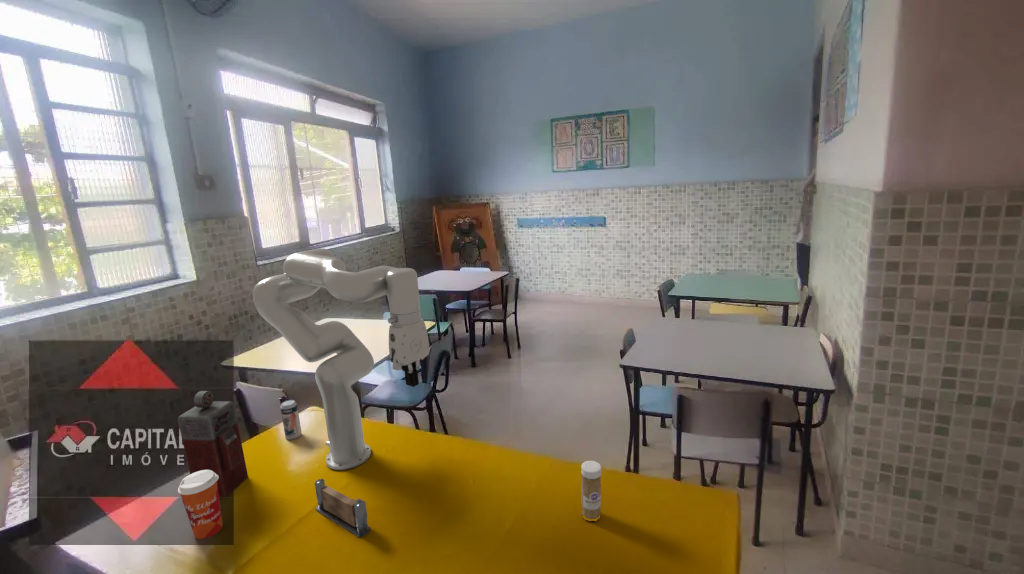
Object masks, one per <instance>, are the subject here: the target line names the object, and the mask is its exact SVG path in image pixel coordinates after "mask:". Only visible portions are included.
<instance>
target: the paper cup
mask: <svg viewBox="0 0 1024 574" xmlns="http://www.w3.org/2000/svg"><path fill="white" fill-rule="evenodd" d="M218 478H219V476H218V475H217V474H216V473H215V472H213V471H212V470H201V471H197V472H195V473H192V474H190V473H189V475H187V476H185V477H184V478H183V479H182V480H181V481H180V484H179V486H178V489H177V492H178V494H180V497H181V500H182V503H183V506H184V509H185V512H186V515H187V518H188V521H189V524H190V527H191V530H192V532H193V535H194V537H195V538H196V539H197V540H206V539H209V538H211V537H213V536H215V535H216V534H219V532H220V531H221V530H222V528H223V516H222V509H221V501H220V498H219V493H218V486H217V480H218Z"/></svg>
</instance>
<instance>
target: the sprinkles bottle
mask: <svg viewBox="0 0 1024 574" xmlns="http://www.w3.org/2000/svg"><path fill="white" fill-rule="evenodd" d="M580 470H581V471H580V472H581V510H582V511H581V515H582V514H583V515H584V516H585V517H586V518H588V519H596V518H598V517H599V516H600V513H601V506H602V501H601V500H602V492H601V491H602V490H601V489H602V486H601V485H602V483H601V481H602V480H601V478H602V477H601V476H602V465H601V464H600V463H599V462H598V461H595V460H585V461H584V462H582V463H581V469H580Z"/></svg>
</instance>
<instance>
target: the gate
mask: <svg viewBox="0 0 1024 574" xmlns="http://www.w3.org/2000/svg"><path fill="white" fill-rule="evenodd" d="M321 494H322V500H323V507H324V509H325V510H327V511H329V512H330V513H332V514H334V515H335V516H337V517H339V518H340V519H342V520H344V521H345V522H347V523H349V524H350V525H352V526H353V527H356V526H357V524H356V516H355V509H354V504H355V503H356V502H358V501H356V500H357V499H354V498H353V499H352V498H350V497H348V496H347V495H345V494H343V493H341V492H339V491H337V490H336V489H334V488H332V487H331V486H329V485H325V487H324V488H322V489H321Z"/></svg>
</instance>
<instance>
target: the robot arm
mask: <svg viewBox="0 0 1024 574" xmlns="http://www.w3.org/2000/svg"><path fill="white" fill-rule="evenodd" d="M282 271H283V273H282V274H277V275H273V276H269V277H267V278H266V277H265V278H264V279H262V280H260V281H259V282H257V283H256V284H255V286H254V288H253V291H252V300H253V305H254V307H255V308H256V310H257V312H258V314H259V315H260V316H261V317H262V319H264V320H265V321H266V322H267V323H268V324H269V325H270V326H272V327H273V328H274V329H276V331H277V332H279V334H281V335H282V337H283V338H284V339H285V340H286V341H287V343H288V344H289V345H290V346H291V347H292V348H293V349H294V350H295V352H296V353H297V354H298V355H299V357H300V358H302V359H303V360H304V361H305V362H308V363H315V362H319V361H321V360H322V362H321V363H320V364H319V365H318V366H317V368H316V370H315V373H314V379H315V382H316V385H317V387H318V390H319V393H320V396H321V397H320V398H321V399H322V405H323V412H324V417H325V424H326V430H327V432H326V433H327V438H328V440H327V441H326V442H325V446H327V447H329V448H328V449H329V452H328V453H327V455H326V456H325V463H326V466H327V467H328V468H330V469H331V470H335V471H344V470H350V469H353V468H356V467H358V466H360V465H362V464H363V463H366V462H367V460H368V459H369V458H370V456H371V454H372V450H371V446H370V445H369V444H367V443H365V438H364V430H363V422H362V415H361V407H360V401H359V397H358V395H357V393H356V392H355V391H354V390H353V389H352V385H354V384H355V383H356V382H357V381H360V380H361V379H363V378H364V377H366V376H368V375H369V374H371V372H372V371H373V369H374V366H375V360H374V356H373V355H372V353H371V352H370V350H369V349H368V347H366V345H365V344H364V343H363V342H362V341H361V340H360V338H358V336H356V334H355V333H354V332H353V331H352V330H351V329H350V327H348V326H347V325H346V324H344V323H342V321H337V320H330V321H327V322H324V323H321V324H316V323H315V322H314V321H312V319H311V318H310V317H309V315H308V314H307V313H305V312H303V310H300V309H299V308H296V307H295V306H292V305H289V304H290V303H293V302H296V301H300V300H303V299H306V298H309V297H312V296H313V295H314V294H315V293H317V292H318V290H320V289H321V288H324V289H326V291H327V292H328V293H329V294H330V295H331V296H332V297H334V298H335V299H338V300H343V301H347V302H351V303H366V302H370V301H373V300H375V299H377V298H380V297H384V296H387V299H388V309H389V318H388V319H387V322H388V324H390V325H389V328H388V329H389V330H388V353H389V360H390V363H392V370H394V371H402V372H404V378H405V379H404V381H405V385H406V386H409V387H413V388H414V387H416V386H418V385H420V383H419V382H420V381H419V373H418V371H419V369H420V364H421V362H422V361H423V360H425V358H426V357H427V356H429V354H430V342H429V341H430V340H429V336H428V335H429V333H428V330H427V326H426V323H425V320H424V319H423V318H422V315H421V314H422V311H421V303H420V292H419V281H418V273H417V271H416V270H415V269H414V268H410V267H399V268H398V267H394V266H390V265H378V266H375V267H372V268H366V269H364V270H361V271H360V270H359V271H347V267H346V264H345V263H344V261H343V260H342V259H340V258H338V257H336V256H335V255H334V253H333V252H332V251H330V250H328V249H327V248H326V249H325V248H313V249H309V250H302V251H299V252H293V253H292V254H290V255H289V256H287V258H285V260H284V262H283V265H282ZM334 354H335V355H334ZM332 355H333V356H332ZM328 357H329V358H328ZM325 358H327V359H325ZM324 359H325V360H324ZM323 360H324V361H323Z"/></svg>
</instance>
